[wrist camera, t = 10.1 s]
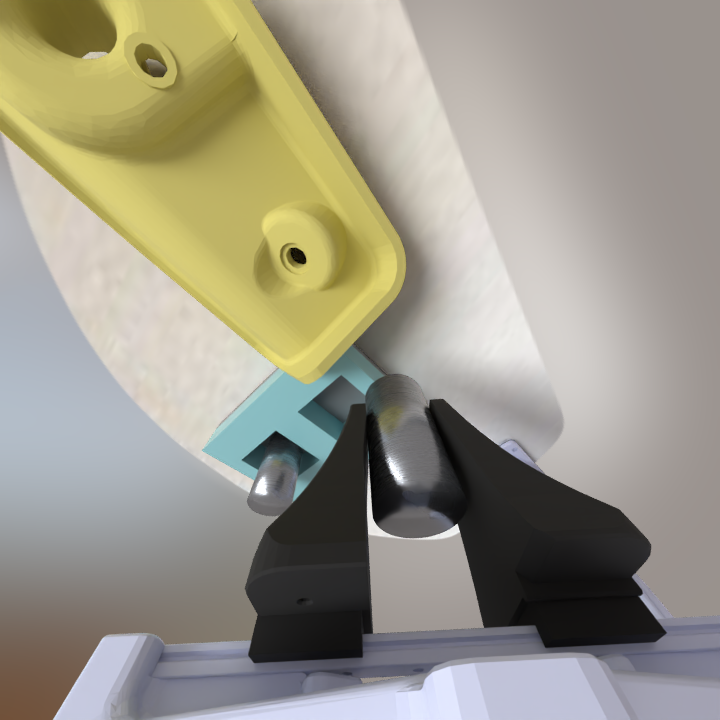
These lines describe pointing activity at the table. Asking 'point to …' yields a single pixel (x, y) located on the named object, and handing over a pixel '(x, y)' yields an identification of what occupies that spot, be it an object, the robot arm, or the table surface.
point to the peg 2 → (409, 463)
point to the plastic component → (205, 164)
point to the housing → (294, 416)
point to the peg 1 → (276, 477)
